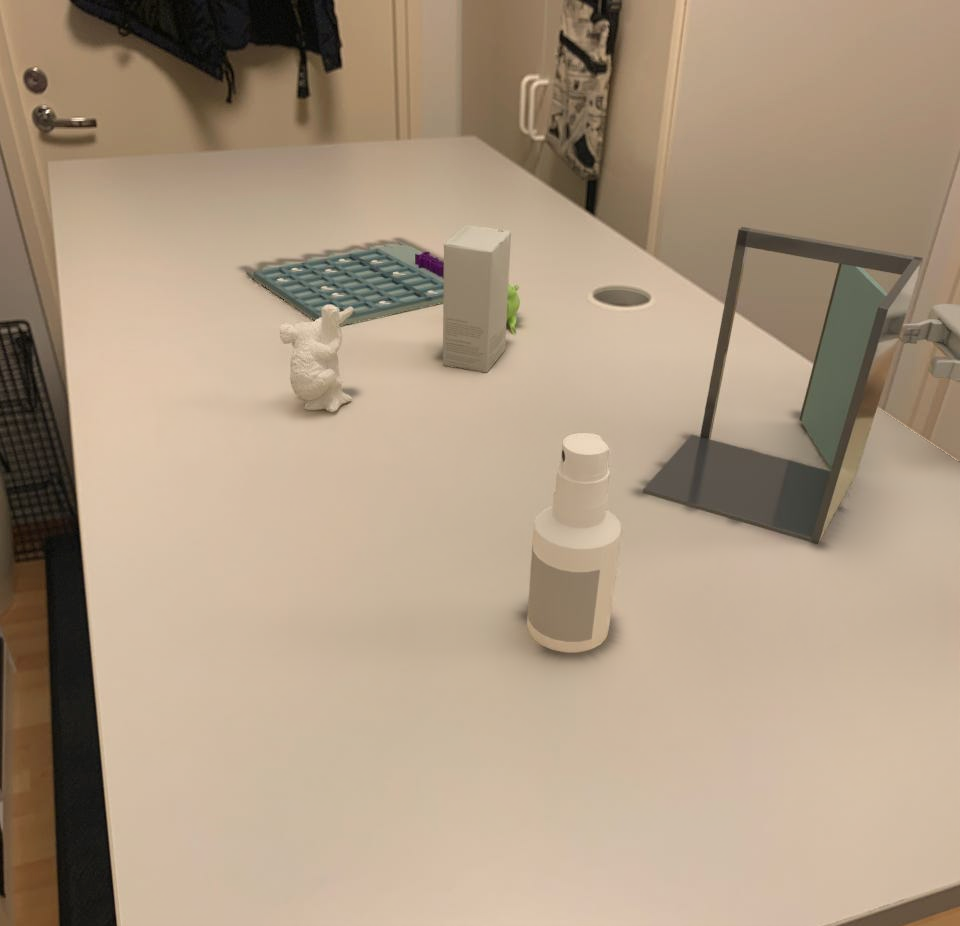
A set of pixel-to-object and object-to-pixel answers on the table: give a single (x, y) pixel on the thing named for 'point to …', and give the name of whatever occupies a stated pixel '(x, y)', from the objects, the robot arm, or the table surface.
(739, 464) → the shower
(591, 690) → the table surface
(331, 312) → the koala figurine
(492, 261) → the cosmetic box
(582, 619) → the spray bottle
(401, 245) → the calendar
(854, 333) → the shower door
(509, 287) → the green animal figurine
